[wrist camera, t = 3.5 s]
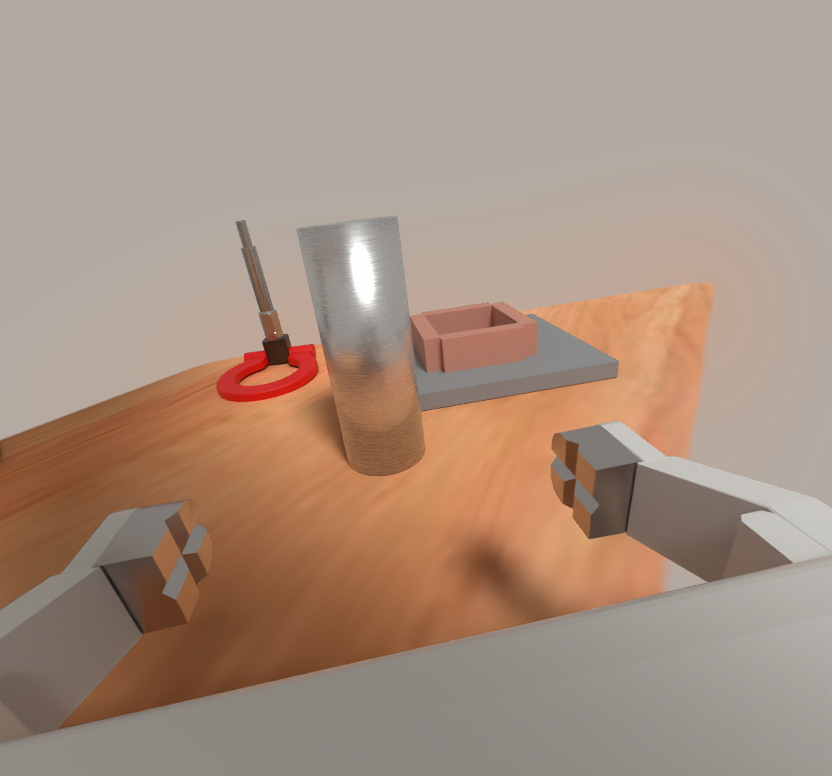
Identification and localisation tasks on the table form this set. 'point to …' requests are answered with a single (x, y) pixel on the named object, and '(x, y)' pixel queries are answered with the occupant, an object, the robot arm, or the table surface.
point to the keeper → (497, 355)
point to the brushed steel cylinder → (366, 340)
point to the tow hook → (266, 343)
